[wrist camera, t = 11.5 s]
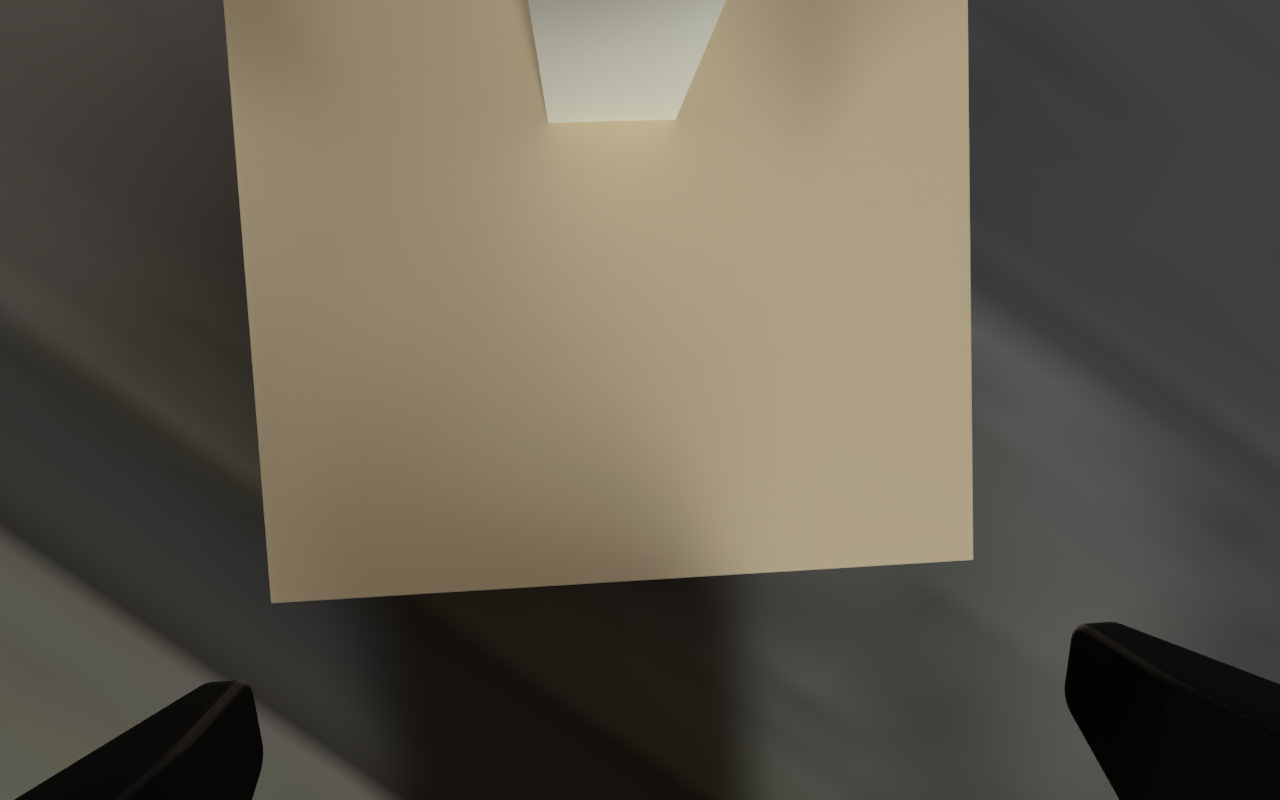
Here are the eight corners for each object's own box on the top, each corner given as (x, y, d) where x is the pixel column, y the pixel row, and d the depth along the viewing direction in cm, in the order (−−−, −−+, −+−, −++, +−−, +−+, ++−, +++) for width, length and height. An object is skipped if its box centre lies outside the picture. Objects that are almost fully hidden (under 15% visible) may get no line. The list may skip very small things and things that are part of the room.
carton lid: (960, 552, 18) (1179, 677, 11) (282, 593, 17) (91, 756, 10) (953, -40, 17) (1189, -279, 10) (233, -30, 16) (-13, -290, 9)
